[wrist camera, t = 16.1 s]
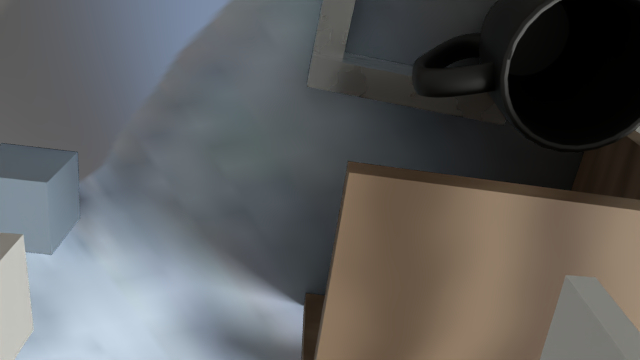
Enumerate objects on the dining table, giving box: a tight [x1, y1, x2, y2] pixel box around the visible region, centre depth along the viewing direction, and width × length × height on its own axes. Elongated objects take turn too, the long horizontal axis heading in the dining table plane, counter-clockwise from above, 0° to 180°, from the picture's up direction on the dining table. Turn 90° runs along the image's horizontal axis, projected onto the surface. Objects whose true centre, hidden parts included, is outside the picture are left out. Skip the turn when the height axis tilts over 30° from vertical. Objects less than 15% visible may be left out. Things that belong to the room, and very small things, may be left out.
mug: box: [412, 0, 640, 152], centre depth 33 cm, size 8×12×10 cm
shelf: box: [301, 130, 640, 360], centre depth 35 cm, size 18×18×15 cm
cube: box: [0, 143, 80, 255], centre depth 39 cm, size 5×5×5 cm
